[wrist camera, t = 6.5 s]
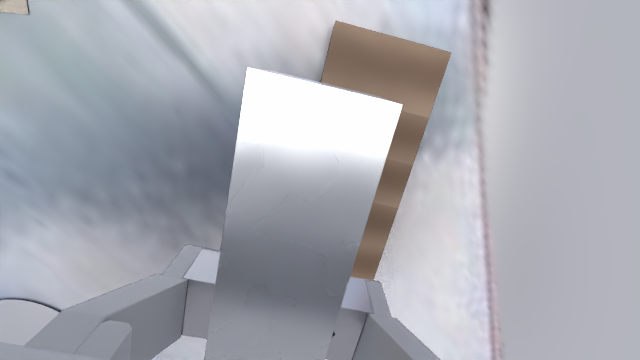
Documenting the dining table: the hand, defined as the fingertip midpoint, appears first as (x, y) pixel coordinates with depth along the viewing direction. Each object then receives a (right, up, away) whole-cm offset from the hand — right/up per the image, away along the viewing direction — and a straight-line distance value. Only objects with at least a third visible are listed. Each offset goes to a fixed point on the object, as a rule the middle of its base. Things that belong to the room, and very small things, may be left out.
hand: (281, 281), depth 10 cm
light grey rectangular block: (0, +2, +5) cm, 5 cm away
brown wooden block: (+4, +5, +19) cm, 20 cm away
